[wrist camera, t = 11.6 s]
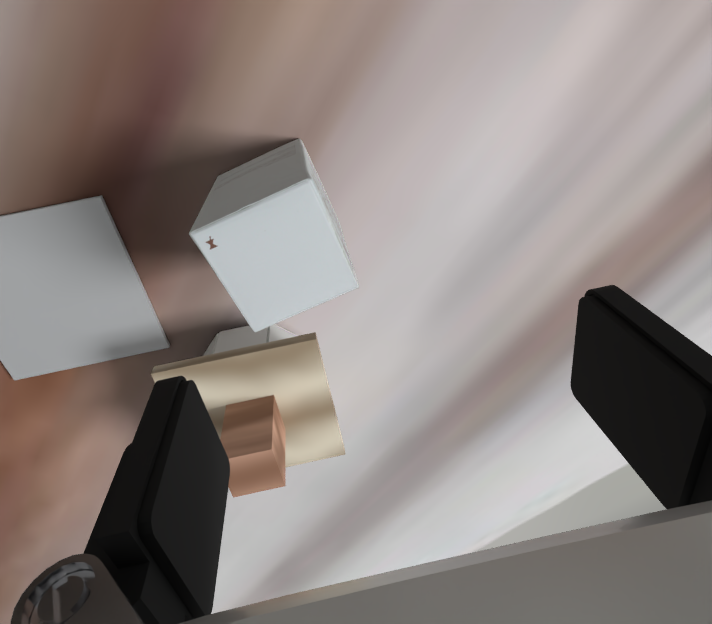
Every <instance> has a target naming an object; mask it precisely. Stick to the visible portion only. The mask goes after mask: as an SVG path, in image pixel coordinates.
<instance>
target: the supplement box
mask: <svg viewBox="0 0 712 624" xmlns="http://www.w3.org/2000/svg"><path fill="white" fill-rule="evenodd" d="M189 235H190V237H191V238H192V240H193V241H194V242H195V244H196V245H197V247H198V248H199V250H200V251H201V253H202V254H203V256H204V257H205V259H206V260H207V262H208V263H209V265H210V266H211V268H212V269H213V271H214V272H215V273H216V275H217V276H218V278H219V279H220V281H221V283H222V284H223V286H224V287H225V289H226V290H227V292H228V293H229V295H230V296H231V298H232V299H233V301H234V302H235V304H236V306H237V307H238V309H239V310H240V312H241V313H242V315H243V316H244V318H245V319H246V321H247V322H248V324H249V325H250V327H251V328H252V330H253V331H254V332H258V331H260V330H262V329H265V328H267V327H269V326H271V325H274V324H276V323H278V322H281V321H283V320H285V319H288V318H290V317H292V316H295V315H297V314H299V313H301V312H304V311H306V310H308V309H311V308H313V307H315V306H317V305H320V304H322V303H324V302H327V301H329V300H331V299H334V298H336V297H338V296H341V295H343V294H345V293H347V292H350V291H352V290H354V289H357V288H358V287H359V284H358V281H357V278H356V275H355V272H354V268H353V265H352V262H351V259H350V256H349V253H348V250H347V247H346V244H345V240H344V237H343V233H342V230H341V226H340V223H339V220H338V218H337V216H336V214H335V212H334V209H333V207H332V205H331V203H330V200H329V198H328V196H327V194H326V191H325V189H324V187H323V185H322V183H321V180H320V178H319V176H318V174H317V172H316V170H315V167H314V165H313V163H312V161H311V159H310V157H309V155H308V153H307V150H306V148H305V146H304V144H303V142H302V141H301V139H296V140H294V141H292V142H289V143H287V144H285V145H283V146H280V147H278V148H276V149H274V150H272V151H270V152H267V153H265V154H263V155H261V156H259V157H257V158H255V159H253V160H251V161H249V162H246V163H244V164H242V165H240V166H238V167H236V168H234V169H232V170H230V171H227V172H225V173H223V174H221V175H219V176H217V179H216V181H215V182H214V184H213V187H212V188H211V191H210V192H209V194H208V196H207V198H206V200H205V202H204V204H203V206H202V208H201V210H200V212H199V214H198V216H197V218H196V220H195V222H194V224H193V226H192V228H191V230H190V232H189Z"/></svg>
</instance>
